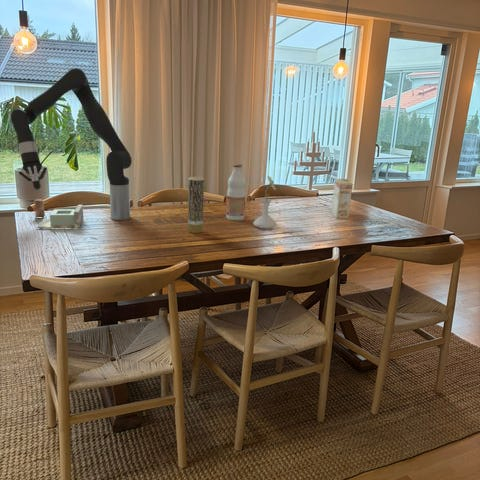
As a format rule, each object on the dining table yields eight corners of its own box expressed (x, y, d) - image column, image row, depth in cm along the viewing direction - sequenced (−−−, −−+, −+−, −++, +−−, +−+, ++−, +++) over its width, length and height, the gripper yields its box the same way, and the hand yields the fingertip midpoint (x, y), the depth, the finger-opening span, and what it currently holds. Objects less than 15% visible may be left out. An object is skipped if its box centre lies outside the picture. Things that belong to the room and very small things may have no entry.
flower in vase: (274, 231, 218) (278, 179, 211) (251, 229, 220) (254, 177, 213) (278, 224, 230) (281, 175, 223) (255, 222, 232) (258, 173, 225)
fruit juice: (233, 221, 232) (236, 166, 223) (222, 217, 238) (224, 163, 230) (247, 219, 237) (250, 165, 229) (236, 215, 244) (238, 162, 236)
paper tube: (203, 230, 215) (205, 177, 207) (201, 234, 208) (202, 179, 201) (189, 229, 215) (190, 176, 208) (186, 233, 209) (187, 178, 201)
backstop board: (83, 220, 220) (82, 204, 218) (79, 228, 207) (78, 211, 205) (43, 221, 217) (42, 204, 215) (37, 229, 204) (35, 211, 201)
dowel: (45, 216, 225) (44, 199, 223) (43, 218, 221) (42, 201, 219) (36, 216, 224) (35, 199, 222) (35, 218, 221) (33, 201, 218)
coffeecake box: (348, 219, 247) (353, 183, 241) (335, 218, 247) (339, 183, 241) (343, 212, 261) (347, 178, 255) (330, 212, 261) (334, 178, 256)
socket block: (78, 219, 218) (77, 209, 217) (74, 225, 208) (74, 214, 207) (55, 219, 216) (54, 209, 214) (50, 225, 206) (49, 215, 205)
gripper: (45, 152, 218) (53, 187, 219) (15, 156, 215) (24, 193, 216) (42, 148, 211) (51, 185, 212) (12, 153, 208) (21, 191, 208)
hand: (37, 189), depth 214 cm, fingers closed
